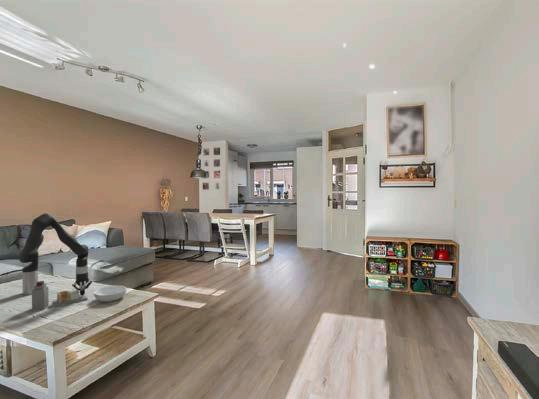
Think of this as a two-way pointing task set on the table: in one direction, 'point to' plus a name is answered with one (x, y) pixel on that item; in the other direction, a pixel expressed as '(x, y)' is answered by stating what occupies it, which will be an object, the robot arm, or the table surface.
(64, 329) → the table surface
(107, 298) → the serving bowl
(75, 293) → the block
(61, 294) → the sleeve
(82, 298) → the board
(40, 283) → the perfume bottle
